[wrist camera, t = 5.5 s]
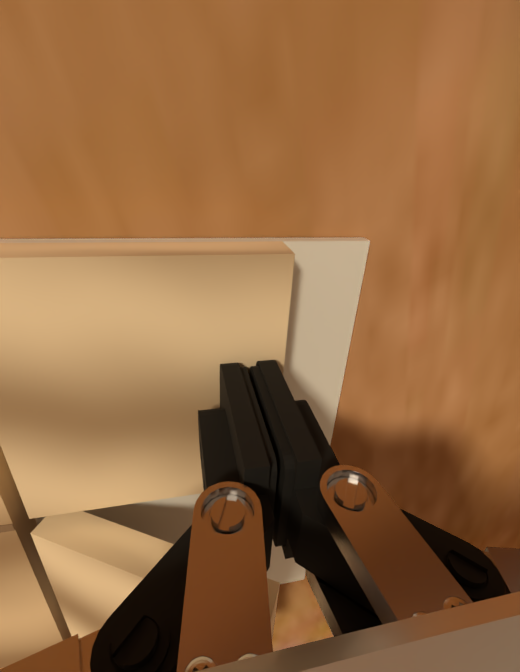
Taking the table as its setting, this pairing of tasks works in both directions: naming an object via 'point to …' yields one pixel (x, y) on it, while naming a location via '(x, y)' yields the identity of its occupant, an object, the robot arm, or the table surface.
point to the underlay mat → (299, 365)
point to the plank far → (100, 566)
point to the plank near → (126, 361)
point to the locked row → (23, 582)
